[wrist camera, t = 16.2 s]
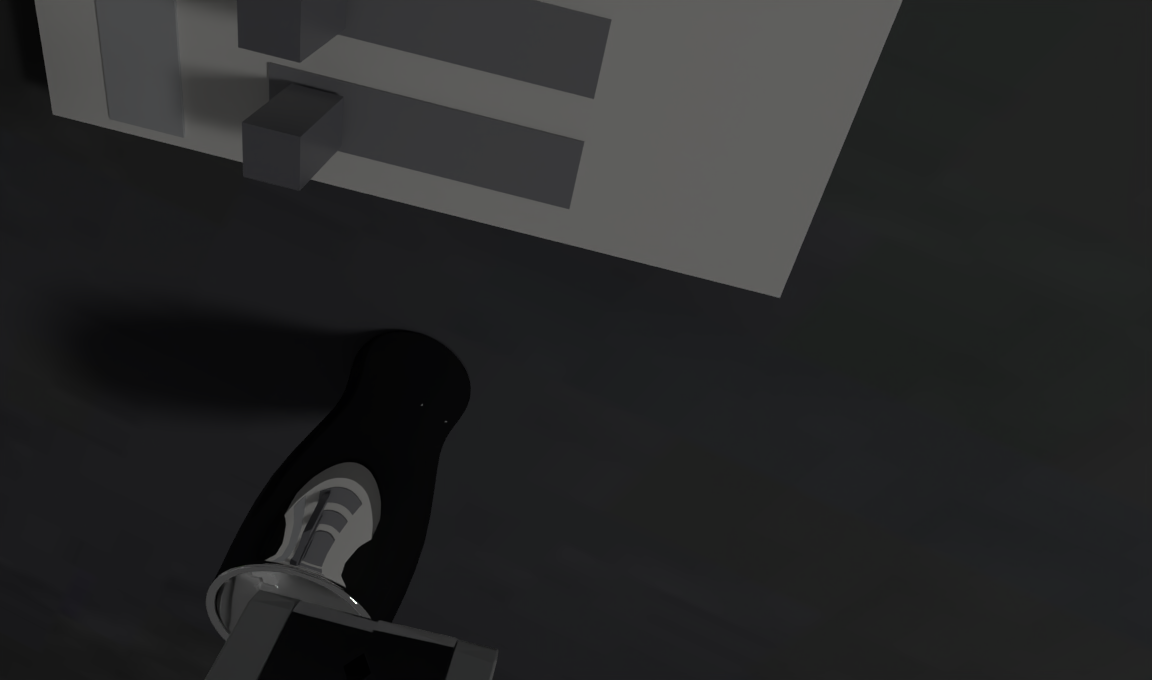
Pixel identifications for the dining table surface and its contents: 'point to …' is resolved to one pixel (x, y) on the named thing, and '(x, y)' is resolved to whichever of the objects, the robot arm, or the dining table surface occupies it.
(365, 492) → the beer glass
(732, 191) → the breaker panel
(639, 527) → the dining table surface
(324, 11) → the breaker handle
